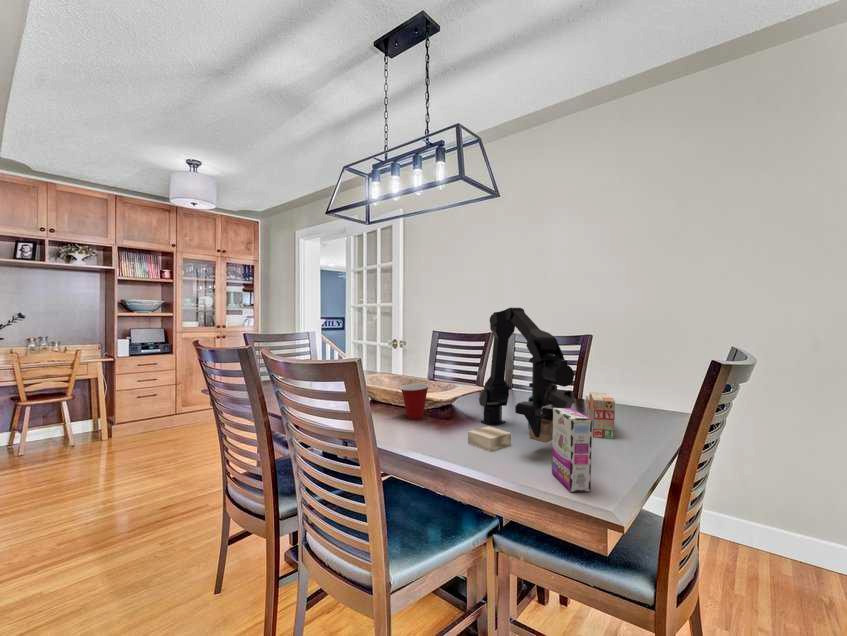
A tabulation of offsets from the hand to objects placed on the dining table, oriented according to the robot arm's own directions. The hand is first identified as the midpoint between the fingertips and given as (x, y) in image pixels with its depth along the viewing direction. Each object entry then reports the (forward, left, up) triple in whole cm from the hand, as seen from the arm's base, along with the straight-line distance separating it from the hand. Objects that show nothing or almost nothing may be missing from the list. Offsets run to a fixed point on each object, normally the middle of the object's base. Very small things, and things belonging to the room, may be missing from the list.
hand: (542, 435), depth 120 cm
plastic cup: (+2, -52, -5) cm, 52 cm away
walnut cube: (0, 0, -1) cm, 1 cm away
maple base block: (+6, -14, -5) cm, 16 cm away
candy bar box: (+14, +16, -5) cm, 22 cm away
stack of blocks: (-34, +1, -5) cm, 35 cm away
